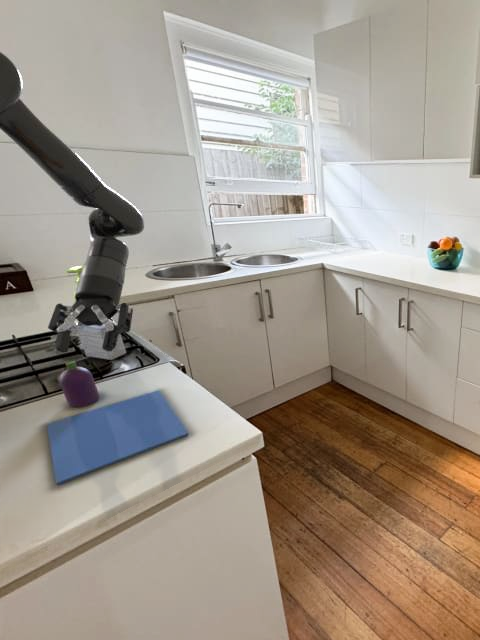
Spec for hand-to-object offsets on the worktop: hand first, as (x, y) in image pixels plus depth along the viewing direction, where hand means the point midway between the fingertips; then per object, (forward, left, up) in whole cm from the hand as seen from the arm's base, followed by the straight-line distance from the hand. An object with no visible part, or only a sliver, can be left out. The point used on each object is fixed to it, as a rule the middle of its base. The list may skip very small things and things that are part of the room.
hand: (84, 350), depth 78 cm
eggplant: (0, -5, -9) cm, 10 cm away
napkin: (+12, -16, -9) cm, 22 cm away
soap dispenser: (-16, +29, -9) cm, 35 cm away
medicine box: (-8, +17, -9) cm, 21 cm away
